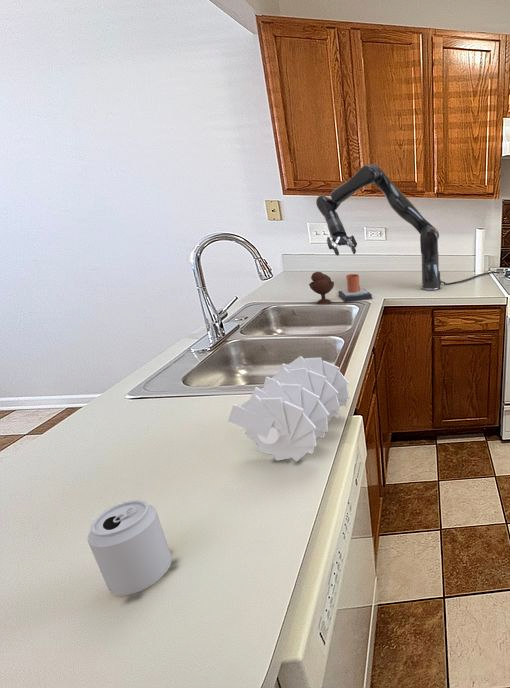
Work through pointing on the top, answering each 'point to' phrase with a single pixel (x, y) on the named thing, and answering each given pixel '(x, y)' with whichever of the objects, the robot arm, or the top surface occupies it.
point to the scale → (354, 295)
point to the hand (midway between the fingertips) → (346, 253)
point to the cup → (353, 283)
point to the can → (129, 547)
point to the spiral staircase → (293, 408)
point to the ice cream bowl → (321, 285)
